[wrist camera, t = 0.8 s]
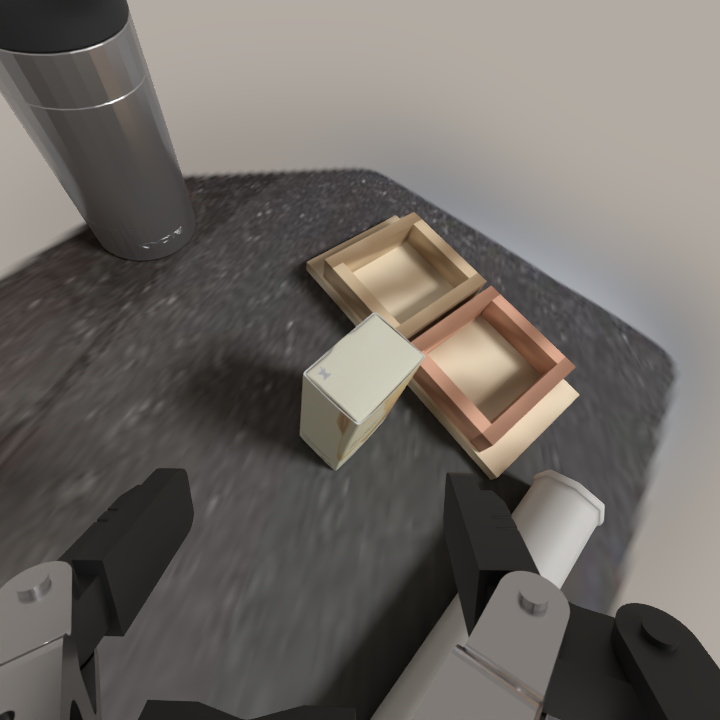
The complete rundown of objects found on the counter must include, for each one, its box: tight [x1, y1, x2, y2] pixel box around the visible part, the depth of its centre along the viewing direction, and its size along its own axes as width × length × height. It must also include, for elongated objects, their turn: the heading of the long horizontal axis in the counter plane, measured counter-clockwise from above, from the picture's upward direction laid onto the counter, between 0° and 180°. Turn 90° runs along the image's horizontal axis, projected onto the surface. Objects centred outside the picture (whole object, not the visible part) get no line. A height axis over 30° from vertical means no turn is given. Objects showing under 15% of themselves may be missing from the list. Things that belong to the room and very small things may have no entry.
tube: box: [370, 470, 604, 720], centre depth 25 cm, size 5×5×25 cm
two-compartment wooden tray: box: [306, 212, 579, 480], centre depth 36 cm, size 26×12×4 cm, turn 39°
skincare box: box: [300, 313, 425, 470], centre depth 27 cm, size 6×4×12 cm
